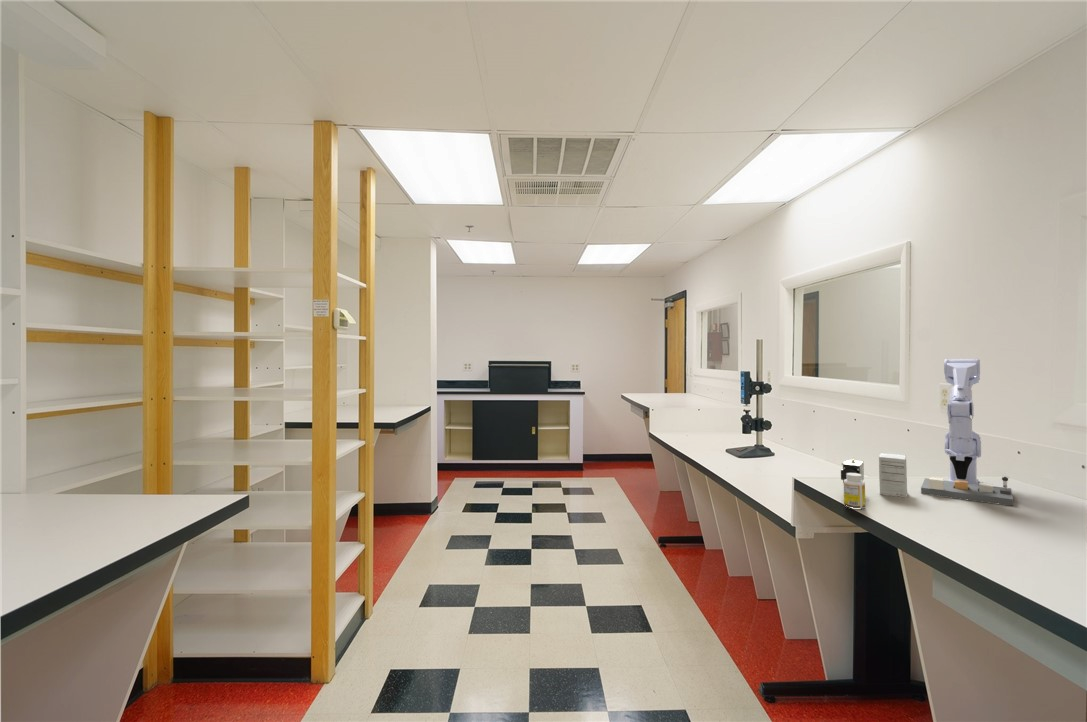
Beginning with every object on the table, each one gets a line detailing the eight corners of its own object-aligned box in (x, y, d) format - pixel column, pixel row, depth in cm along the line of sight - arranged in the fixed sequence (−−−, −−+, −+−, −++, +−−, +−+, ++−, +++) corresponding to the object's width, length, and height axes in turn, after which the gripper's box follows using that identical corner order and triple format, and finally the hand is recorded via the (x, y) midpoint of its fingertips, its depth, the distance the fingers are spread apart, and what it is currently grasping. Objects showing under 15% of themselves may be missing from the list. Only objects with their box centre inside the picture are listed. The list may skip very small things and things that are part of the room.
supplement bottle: (858, 504, 153) (857, 471, 153) (869, 510, 147) (869, 476, 147) (840, 504, 153) (839, 472, 153) (851, 510, 148) (850, 476, 147)
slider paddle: (930, 486, 163) (929, 477, 163) (944, 488, 160) (943, 478, 160) (929, 488, 160) (929, 479, 160) (943, 490, 158) (943, 480, 158)
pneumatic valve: (864, 492, 165) (864, 457, 165) (859, 500, 156) (858, 463, 156) (845, 489, 169) (844, 455, 169) (839, 498, 160) (838, 461, 160)
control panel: (925, 483, 174) (925, 475, 174) (1011, 494, 159) (1010, 485, 159) (921, 493, 162) (921, 484, 162) (1013, 506, 148) (1012, 496, 148)
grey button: (979, 490, 159) (979, 482, 159) (992, 492, 157) (992, 484, 157) (979, 492, 157) (979, 484, 157) (992, 494, 155) (992, 486, 155)
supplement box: (880, 489, 169) (880, 452, 168) (907, 492, 164) (906, 454, 164) (878, 494, 163) (878, 456, 163) (906, 498, 158) (906, 459, 158)
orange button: (955, 487, 163) (955, 480, 163) (968, 489, 161) (967, 481, 161) (954, 489, 161) (954, 482, 161) (967, 491, 159) (967, 483, 159)
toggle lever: (1001, 487, 155) (1001, 476, 156) (1008, 488, 154) (1008, 477, 155) (1002, 486, 154) (1001, 475, 155) (1008, 487, 153) (1008, 476, 154)
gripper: (946, 433, 169) (946, 472, 169) (943, 439, 158) (944, 481, 158) (973, 435, 164) (974, 475, 164) (972, 441, 153) (973, 485, 153)
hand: (961, 478), depth 161 cm, fingers closed
